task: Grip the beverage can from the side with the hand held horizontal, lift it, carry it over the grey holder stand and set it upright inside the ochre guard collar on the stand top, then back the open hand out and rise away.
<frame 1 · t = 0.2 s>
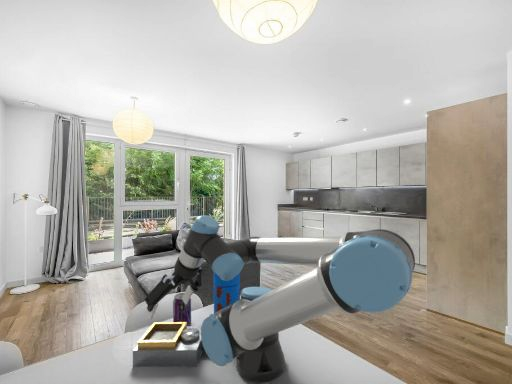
hand: (167, 308, 82), 15 cm above the table, tool tilted 35°, fingers open, 13 cm apart
grey holder stand: (172, 352, 82), on the table
thermos: (227, 324, 100), on the table
beverage can: (182, 325, 99), on the table
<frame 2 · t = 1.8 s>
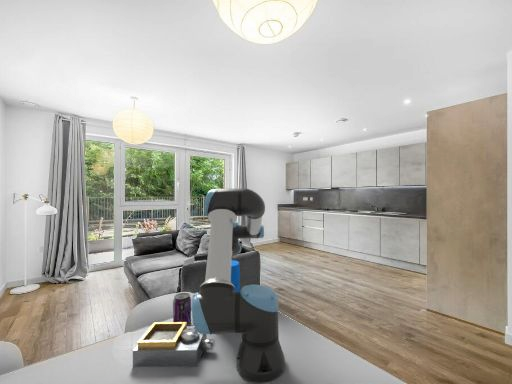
hand: (196, 264, 108), 22 cm above the table, tool horizontal, fingers open, 13 cm apart
nothing on the table moved.
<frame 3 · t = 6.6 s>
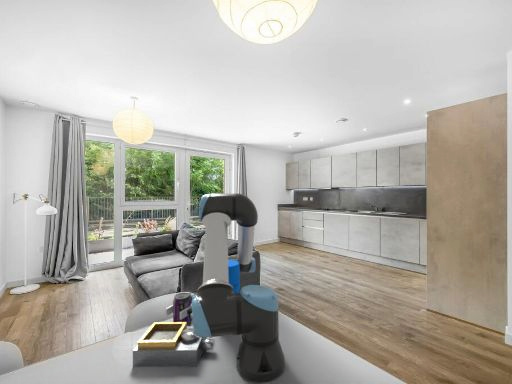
hand: (173, 314, 95), 7 cm above the table, tool horizontal, fingers closed on beverage can, 7 cm apart
beverage can: (182, 325, 99), on the table, touching gripper
everything else where it was.
when the fingers open (13 cm above the table, at t = 10.8 s): beverage can stays where it is, resting on grey holder stand.
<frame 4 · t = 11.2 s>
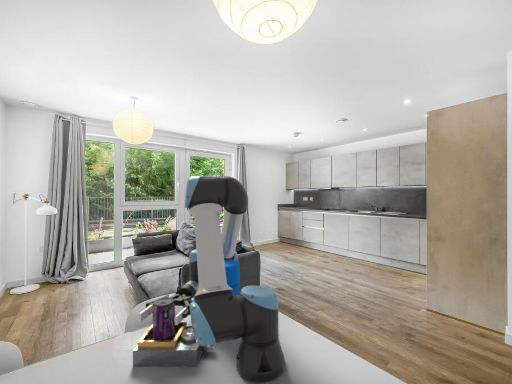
hand: (157, 319, 79), 13 cm above the table, tool horizontal, fingers open, 12 cm apart
beverage can: (164, 337, 82), point 5 cm above the table, touching grey holder stand
everything else where it was.
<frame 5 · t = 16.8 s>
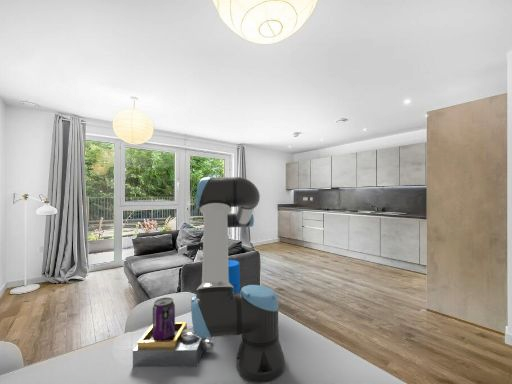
hand: (194, 252, 99), 30 cm above the table, tool horizontal, fingers open, 13 cm apart
nothing on the table moved.
at the end: beverage can 0.0 cm from the target spot on the grey holder stand, point 5.0 cm above the grey holder stand's base; beverage can tilted 0°; the gripper is holding nothing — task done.
